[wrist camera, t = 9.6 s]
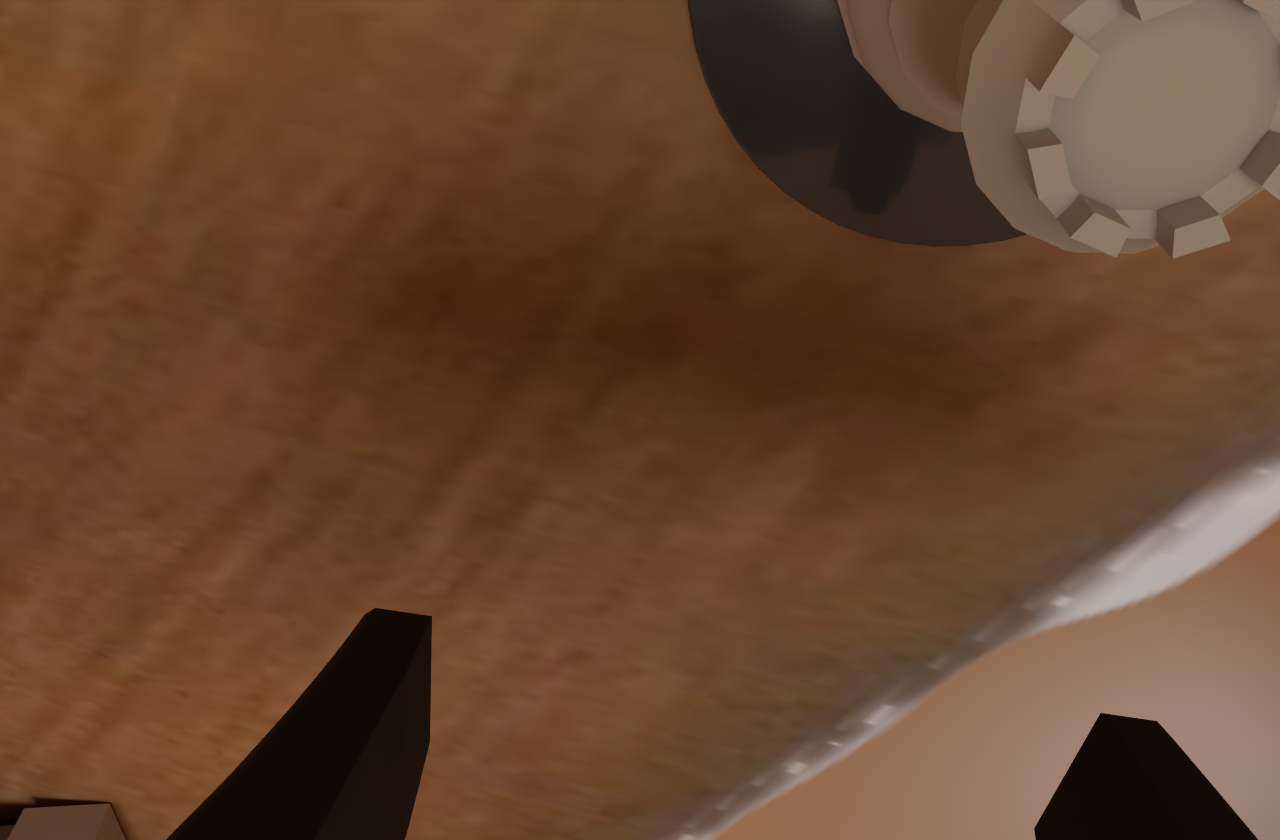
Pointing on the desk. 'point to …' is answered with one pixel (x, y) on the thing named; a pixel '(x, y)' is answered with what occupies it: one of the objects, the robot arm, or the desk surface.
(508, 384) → the desk surface
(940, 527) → the desk surface
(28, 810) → the alarm clock
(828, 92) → the slate coaster
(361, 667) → the robot arm
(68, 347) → the desk surface
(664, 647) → the desk surface
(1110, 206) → the rook chess piece
